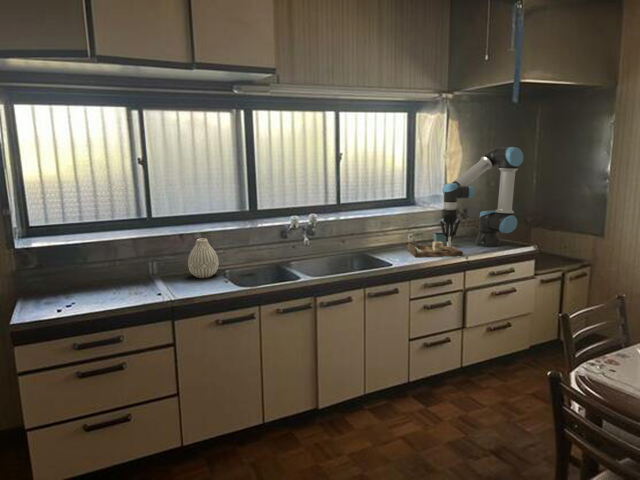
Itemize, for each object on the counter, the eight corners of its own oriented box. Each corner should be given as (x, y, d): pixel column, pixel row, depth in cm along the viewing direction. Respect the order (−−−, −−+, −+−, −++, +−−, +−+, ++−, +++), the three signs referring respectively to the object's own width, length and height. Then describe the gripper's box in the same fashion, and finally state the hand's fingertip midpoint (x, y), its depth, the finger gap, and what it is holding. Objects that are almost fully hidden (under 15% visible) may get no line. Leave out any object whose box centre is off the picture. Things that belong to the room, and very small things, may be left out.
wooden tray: (451, 249, 316) (452, 241, 315) (462, 256, 296) (462, 248, 295) (407, 250, 314) (407, 243, 313) (415, 257, 295) (415, 249, 294)
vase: (182, 277, 258) (180, 240, 255) (206, 270, 271) (204, 235, 267) (201, 281, 248) (198, 243, 245) (225, 275, 261) (223, 238, 257)
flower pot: (449, 248, 320) (449, 234, 318) (435, 248, 320) (435, 234, 318) (445, 245, 329) (446, 232, 327) (432, 245, 329) (433, 232, 327)
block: (440, 249, 305) (440, 241, 304) (442, 250, 300) (443, 242, 299) (432, 249, 305) (432, 241, 304) (434, 251, 300) (435, 243, 299)
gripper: (458, 207, 301) (457, 245, 305) (437, 208, 300) (436, 245, 304) (462, 209, 293) (461, 247, 298) (441, 209, 293) (440, 248, 297)
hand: (448, 246), depth 301 cm, fingers closed
